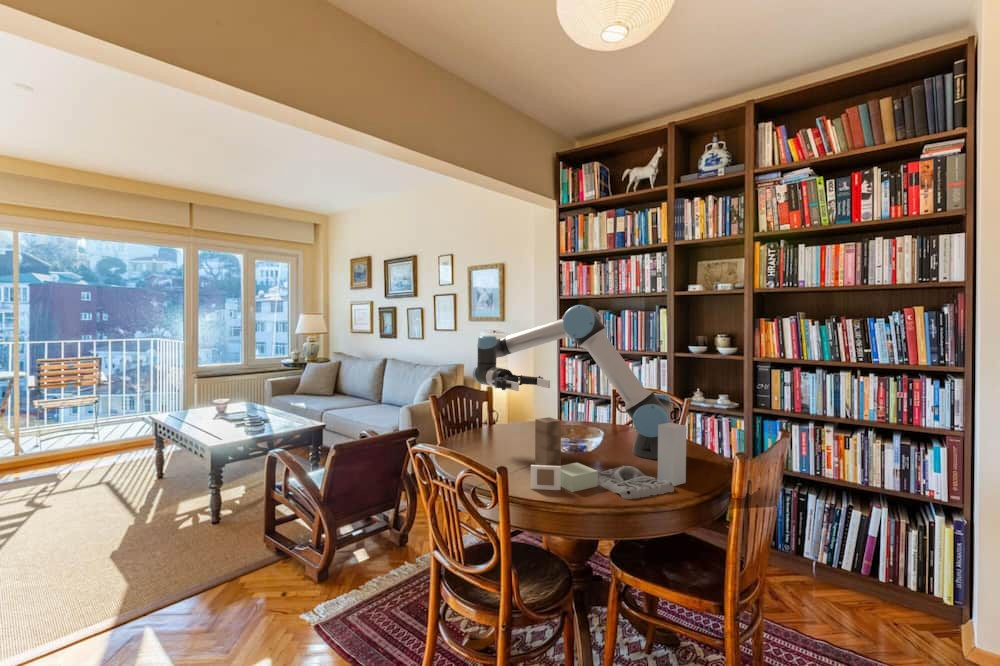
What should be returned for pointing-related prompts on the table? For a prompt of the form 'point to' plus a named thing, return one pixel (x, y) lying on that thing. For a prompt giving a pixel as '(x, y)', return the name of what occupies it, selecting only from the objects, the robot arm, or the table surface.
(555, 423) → the walnut block
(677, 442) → the grey plastic block
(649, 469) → the table surface
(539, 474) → the card
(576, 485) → the sage base block
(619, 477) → the wall plaque
